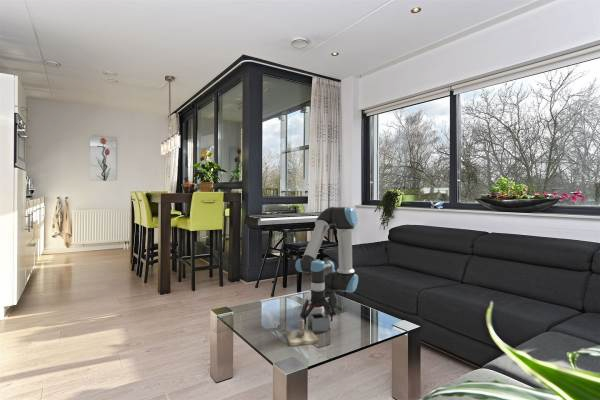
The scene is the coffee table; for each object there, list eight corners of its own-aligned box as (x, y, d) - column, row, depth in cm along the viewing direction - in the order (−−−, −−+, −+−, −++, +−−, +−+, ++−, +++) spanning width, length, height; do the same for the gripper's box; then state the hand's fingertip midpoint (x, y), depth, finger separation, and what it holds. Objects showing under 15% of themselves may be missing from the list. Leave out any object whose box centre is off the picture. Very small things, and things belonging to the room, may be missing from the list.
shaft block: (310, 331, 189) (310, 314, 189) (318, 342, 176) (318, 323, 175) (284, 334, 186) (284, 316, 186) (290, 346, 172) (290, 326, 172)
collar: (323, 325, 199) (323, 312, 198) (328, 331, 190) (328, 318, 190) (308, 326, 197) (307, 314, 196) (312, 332, 188) (312, 319, 188)
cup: (322, 326, 197) (322, 308, 197) (305, 325, 199) (305, 307, 199) (325, 319, 207) (325, 302, 207) (308, 318, 209) (308, 301, 209)
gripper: (336, 286, 199) (337, 323, 200) (294, 289, 193) (294, 328, 194) (341, 289, 192) (341, 328, 192) (297, 293, 186) (297, 333, 187)
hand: (318, 328), depth 193 cm, fingers open, 12 cm apart
